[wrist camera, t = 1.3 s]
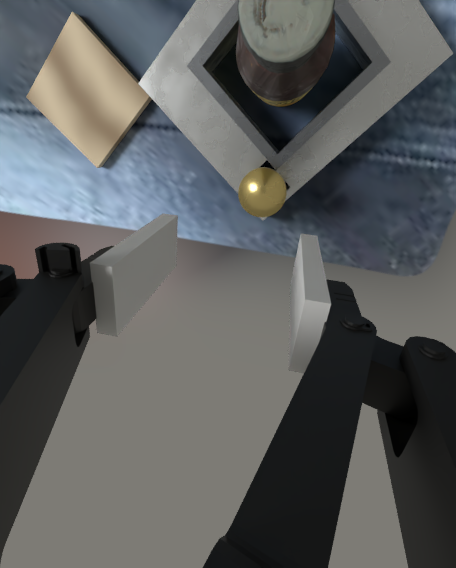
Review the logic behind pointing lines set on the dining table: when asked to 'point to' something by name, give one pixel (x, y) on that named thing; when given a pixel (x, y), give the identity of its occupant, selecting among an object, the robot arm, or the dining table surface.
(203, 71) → the housing
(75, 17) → the cork pad
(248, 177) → the plunger
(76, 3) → the dining table surface
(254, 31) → the sauce bottle
